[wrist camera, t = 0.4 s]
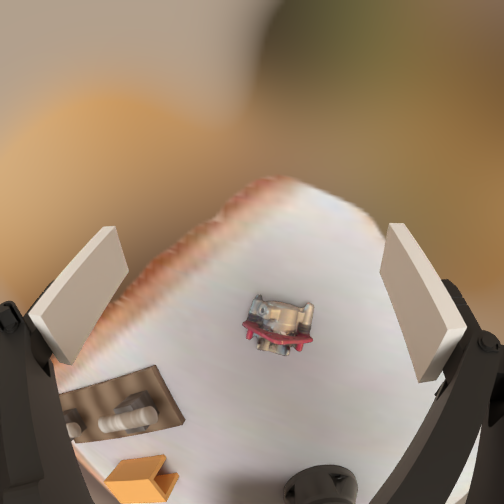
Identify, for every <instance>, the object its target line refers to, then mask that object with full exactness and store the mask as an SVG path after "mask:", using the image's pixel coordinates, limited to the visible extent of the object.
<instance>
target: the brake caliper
mask: <svg viewBox="0 0 504 504" xmlns="http://www.w3.org/2000/svg"><path fill="white" fill-rule="evenodd" d="M313 310H314V305H312V304H310V303H307V304H306V306H305V307H304V308H299V307H295V306H294V305H291V304H286V303H282V302H277V301H272V302H271V301H266V302H264V301H263V300H262V296H261V295H257V296H256V298H255V299H254V300H253V303H252V306H251V308H250V311H249V316H248V318H247V320H246V321H245V322H243V323H242V325H243V326H244V327H245V328H247V329H248V331H247V334H246V339H248V340H250V339H251V338H253V337H254V336H257V338H258V342H257V346H256V348H257V349H258V350H263V351H270V352H274V353H276V354H280V355H283V356H288V355H289V353H290V347H294V348H295V349H296V350H297V351H299V352H301V351H302V348H303V344H304V343H309V342H312V341H313V339H312V338H311V337H310V334H309V333H310V329H311V322H312V316H313Z"/></svg>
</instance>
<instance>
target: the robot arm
mask: <svg viewBox="0 0 504 504" xmlns="http://www.w3.org/2000/svg"><path fill="white" fill-rule="evenodd" d="M128 272H129V270H128V267H127V264H126V261H125V257H124V254H123V251H122V248H121V244H120V241H119V237H118V234H117V231H116V227H115V226H108V227H103V228H102V229H101V230H100V231H99V232H98V233H97V234H96V235H95V236H94V237H93V238H92V239H91V240H90V241H89V242H88V243H87V245H85V247H84V248H83V249H82V250H81V251H80V252H79V253H78V254H77V255H76V256H75V258H74V259H73V260H72V261H71V262H70V263H69V264H68V265H67V267H66V268H65V269H64V270H63V271H62V272H61V274H60V275H59V276H58V277H57V278H56V279H55V280H54V281H52V282H51V283H50V284H49V285H48V286H47V288H46V289H45V290H44V292H42V294H41V295H40V296H39V298H38V299H37V300H36V301H35V302H34V304H33V305H32V306H31V307H30V309H29V310H28V311H27V313H26V314H25V315H24V317H22V315H21V313H20V312H19V310H18V308H17V306H16V305H15V303H14V302H13V301H6V302H4V303H2V304H0V504H95V503H94V502H93V500H92V498H91V496H90V493H89V491H88V489H87V486H86V483H85V481H84V478H83V476H82V473H81V470H80V468H79V465H78V462H77V459H76V456H75V453H74V450H73V447H72V443H71V440H70V437H69V433H68V430H67V426H66V423H65V419H64V415H63V411H62V407H61V402H60V398H59V393H58V388H57V383H56V378H55V373H54V367H53V363H52V361H51V359H50V357H51V355H52V353H53V354H54V355H55V357H56V358H57V360H58V361H59V362H61V363H64V364H68V365H73V363H74V361H75V359H76V358H77V356H78V354H79V352H80V350H81V349H82V347H83V345H84V343H85V341H86V340H87V338H88V336H89V334H90V333H91V331H92V329H93V328H94V326H95V324H96V323H97V321H98V319H99V318H100V316H101V314H102V313H103V311H104V309H105V308H106V306H107V304H108V303H109V301H110V300H111V298H112V296H113V295H114V293H115V292H116V290H117V288H118V287H119V285H120V284H121V282H122V281H123V279H124V278H125V276H126V275H127V273H128ZM380 275H381V277H382V280H383V282H384V285H385V287H386V290H387V292H388V295H389V297H390V300H391V303H392V305H393V308H394V311H395V313H396V316H397V319H398V322H399V324H400V327H401V330H402V333H403V336H404V339H405V342H406V345H407V348H408V351H409V354H410V357H411V360H412V363H413V367H414V370H415V373H416V377H417V380H418V383H422V382H428V381H434V380H437V378H438V377H439V375H440V373H441V372H442V370H443V373H444V375H445V378H446V379H445V380H444V382H443V383H442V385H441V386H440V388H439V389H438V390H437V392H436V393H435V396H436V398H435V400H434V402H433V404H432V406H431V408H430V410H429V412H428V414H427V415H426V417H425V419H424V421H423V423H422V425H421V426H420V428H419V430H418V432H417V434H416V435H415V437H414V439H413V440H412V442H411V444H410V445H409V447H408V449H407V450H406V452H405V453H404V455H403V456H402V458H401V460H400V461H399V463H398V464H397V466H396V467H395V469H394V470H393V472H392V473H391V474H390V476H389V477H388V479H387V480H386V481H385V483H384V484H383V486H382V487H381V488H380V490H379V491H378V492H377V494H376V495H375V496H374V497H373V499H372V500H371V501H370V503H369V504H445V503H446V501H447V499H448V497H449V496H450V494H451V492H452V490H453V488H454V486H455V484H456V482H457V480H458V478H459V476H460V474H461V472H462V470H463V468H464V466H465V464H466V462H467V459H468V457H469V455H470V453H471V450H472V448H473V445H474V443H475V440H476V438H477V435H478V433H479V430H480V427H481V434H480V440H479V447H478V452H477V458H476V463H475V468H474V472H473V477H472V481H471V485H470V489H469V493H468V497H467V500H466V503H465V504H504V345H501V344H500V341H499V340H498V339H497V337H496V336H495V335H493V334H492V333H490V332H488V331H485V330H481V328H480V326H479V324H478V322H477V320H476V319H475V317H474V315H473V313H472V312H471V310H470V308H469V306H468V305H467V303H466V301H465V299H464V298H462V295H461V293H460V291H459V290H458V288H457V287H456V286H455V285H454V284H453V283H452V282H451V281H449V280H448V279H446V280H445V279H444V280H441V279H440V278H439V276H438V275H437V273H436V271H435V270H434V268H433V266H432V265H431V263H430V262H429V260H428V259H427V257H426V255H425V254H424V252H423V251H422V249H421V248H420V246H419V245H418V243H417V242H416V241H415V239H414V237H413V236H412V235H411V233H410V232H409V230H408V229H407V228H406V226H405V225H404V224H403V223H389V226H388V232H387V237H386V243H385V248H384V253H383V258H382V263H381V268H380ZM481 424H482V426H481ZM357 491H358V485H357V482H356V479H355V476H354V475H353V473H352V472H351V471H349V470H348V469H346V468H343V467H340V466H335V465H323V466H316V467H312V468H309V469H306V470H304V471H302V472H300V473H298V474H296V475H295V476H293V477H292V478H291V479H290V480H289V481H288V483H287V484H286V486H285V488H284V502H285V504H355V502H356V496H357Z"/></svg>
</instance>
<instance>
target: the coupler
mask: <svg viewBox="0 0 504 504" xmlns="http://www.w3.org/2000/svg"><path fill="white" fill-rule="evenodd" d="M165 460H166V456H165V455H158V456H151V457H144V458H137V459H129V460H121V462H120V463H119V464H118V465H117V466H116V468H115V469H114V470H113V471H112V472H111V474H110V475H109V476H108V477H107V478H106V479H105V481H104V483H105V484H106V485H107V487H108V488H109V489H110V491H111V492H112V493H113V494H114V496H115V497H116V498H117V499H118V500H119V502H120V503H155V502H167V500H168V498H169V496H170V494H171V492H172V490H173V488H174V486H175V484H176V482H177V480H178V478H179V475H178V474H177V473H172V474H165V475H157V473H158V471H159V470H160V468H161V466H162V465H163V463H164V461H165Z"/></svg>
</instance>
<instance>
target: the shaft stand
mask: <svg viewBox="0 0 504 504" xmlns="http://www.w3.org/2000/svg"><path fill="white" fill-rule="evenodd" d="M59 398H60V402H61V407H62V411H63V415H64V419H65V423H66V426H67V430H68V433H69V437H70V440H71V441H72V440H74V441H75V443H85V442H93V441H101V440H108V439H115V438H121V437H127V436H133V435H138V434H143V433H148V432H153V431H158V430H163V429H167V428H171V427H176V426H180V425H183V423H184V421H185V419H184V417H183V415H182V413H181V412H180V410H179V408H178V406H177V405H176V403H175V401H174V399H173V397H172V395H171V394H170V392H169V390H168V388H167V386H166V384H165V382H164V380H163V378H162V376H161V375H160V373H159V371H158V369H157V367H156V365H154V366H151V367H148V368H145V369H142V370H139V371H136V372H133V373H130V374H127V375H124V376H121V377H117V378H114V379H111V380H108V381H104V382H101V383H98V384H94V385H91V386H87V387H84V388H80V389H77V390H73V391H70V392H66V393H62V394H59Z"/></svg>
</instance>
